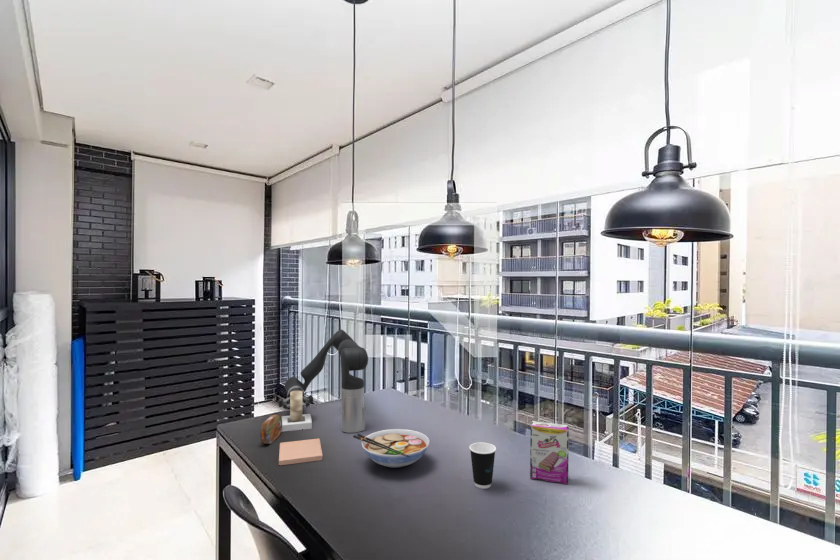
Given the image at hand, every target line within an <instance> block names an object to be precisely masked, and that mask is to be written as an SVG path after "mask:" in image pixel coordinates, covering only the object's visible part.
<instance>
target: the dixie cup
mask: <svg viewBox="0 0 840 560" xmlns="http://www.w3.org/2000/svg"><path fill="white" fill-rule="evenodd" d="M469 450H470V459H471V460H470V461H471V469H472V477H473V482H474V486H475V487H476V488H479V489H482V490H483V489H490V487H491V486H492V483H493V476H494V475H493V474H494V466H495V458H496V457H495V456H496V455H495V454H496V451H497V447H496V446H495V445H494V444H491V443H489V442H481V441H480V442H474V443H472V444H470V445H469Z"/></svg>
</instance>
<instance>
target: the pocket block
mask: <svg viewBox="0 0 840 560" xmlns="http://www.w3.org/2000/svg"><path fill="white" fill-rule="evenodd" d="M281 418H282V430H281V433H282V432H283V433H284V432H294V431H300V430H302V429H303V430H310V429H311V430H312V428H313V425H312V424H313V423H312V422H313V421H312V416H311V413H304V414H303V413H302V422H292V423H290V415H282V416H281Z"/></svg>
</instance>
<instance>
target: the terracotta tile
mask: <svg viewBox="0 0 840 560" xmlns="http://www.w3.org/2000/svg"><path fill="white" fill-rule="evenodd" d="M278 452H279V453H278V455H279V456H278V466H279V465H280V466H286V465H293V464H294V465H295V464H301V463H309V462H315V461H323V458H324V457H323V451H322V444H321V440H320V438H313V439H312V438H311V439H303V440H294V441H284V442H283V441H282V442H280V443H279V451H278Z"/></svg>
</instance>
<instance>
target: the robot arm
mask: <svg viewBox="0 0 840 560" xmlns="http://www.w3.org/2000/svg"><path fill="white" fill-rule="evenodd" d="M332 347H333V348H334V349H336V351H337V353H338V355H339V356H340V372H341V374H340V375H341V376H340V377H341V381H340V382H341V383H340V384H341V387H340V388H341V390H340V393H341V396H340V397H341V398H340V399H341V401H340V404H341V406H340V407H341V409H340V411H341V412H340V415H341V422H340V424H341V425H340V426H341V431H342V432H344V433H347V434H348V433H349V434H353V433H354V434H355V433H359V432H361V431H366V406H365V381H364V379H363V378H361V377H357V376H354V375H352V374H351V373H350V372H351V371H352V372H355V371H362V370H364V369H365V368H367V366H368V364H369V356H368V352H367V350H366V349H365V348H364V347H362V346H360V345H359V344H358V343H357V342H356V341H355V340H354V339H353V338H352V337H351V336H350V335H349V334H348V333H347V332H346V331H345V330H344V329H338V330H337V331H336V332H335V333H334V334H332V336H331V337H330V338H329V339H328V340H327V342H326V343H325V344H324V345H323V347H322V348H321V349H320V350H319V351H318V353H317V354H316V355H315V357H314V358H312V360H311V361H310V362H309V363H308V364H307V365H306V366H305V367H304V368H303V369H302V370H301V372H300V375H301V378H302V379H303V381H304V382H302V381H300V380H299V379H298V377H295V376H291V377H289V378H288V379H287V380H286V381H285V383H284V390H286V393H287V395H286V398H285V399H284V397H279V399H278V407H279V408H283V409H284V410H287V408H288V407H289V408H290V392H292V391H302V392H303V406H305V407H306V408H308V407H310V405H314V397H313V395H312V394H310V395H308V397H306V396H305V392H306V391H307V389H308V387H309V385H310V384H311V382H312V381H313V380H314V379H315V378H316V377H317V376H318V375H319V374H320V373H321V372H322V370H323V369H324V366H325V362H326V360H327V356H328V352H329V351H330V349H331V348H332Z"/></svg>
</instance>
